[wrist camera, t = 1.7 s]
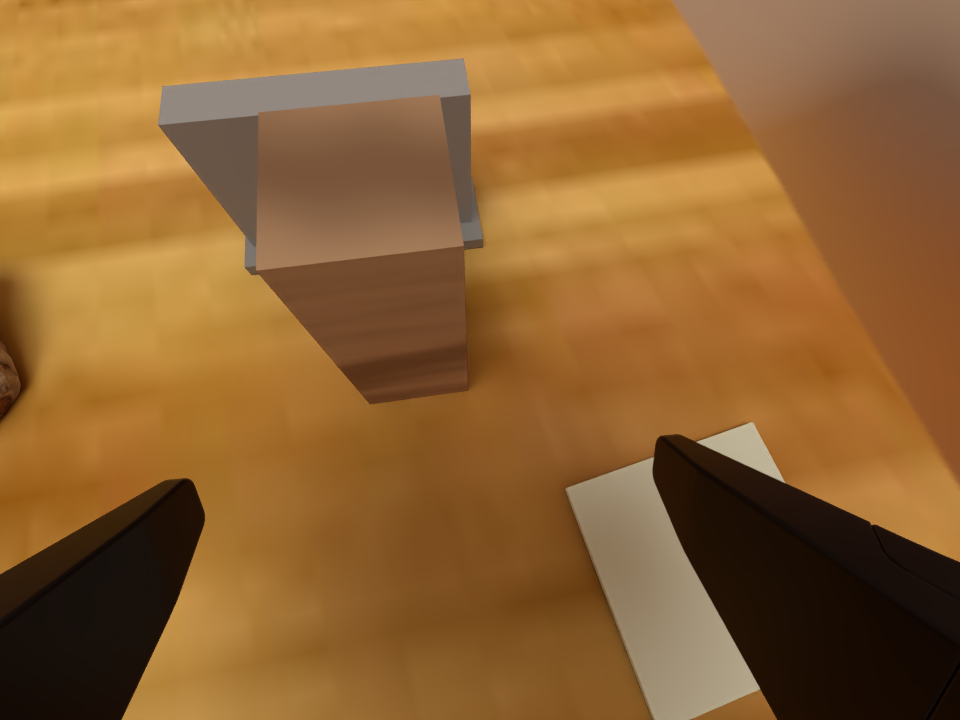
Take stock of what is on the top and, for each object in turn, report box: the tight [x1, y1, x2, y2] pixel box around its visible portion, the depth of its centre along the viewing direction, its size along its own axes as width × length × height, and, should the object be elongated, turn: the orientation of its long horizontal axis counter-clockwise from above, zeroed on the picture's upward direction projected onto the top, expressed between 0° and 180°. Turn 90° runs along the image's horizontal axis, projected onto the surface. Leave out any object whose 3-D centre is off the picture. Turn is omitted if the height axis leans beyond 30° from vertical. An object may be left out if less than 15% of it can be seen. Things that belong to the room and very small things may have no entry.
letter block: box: [256, 95, 468, 404], centre depth 18 cm, size 5×5×13 cm
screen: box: [158, 59, 483, 275], centre depth 22 cm, size 13×4×9 cm, turn 98°
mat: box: [565, 422, 785, 720], centre depth 21 cm, size 10×10×1 cm
